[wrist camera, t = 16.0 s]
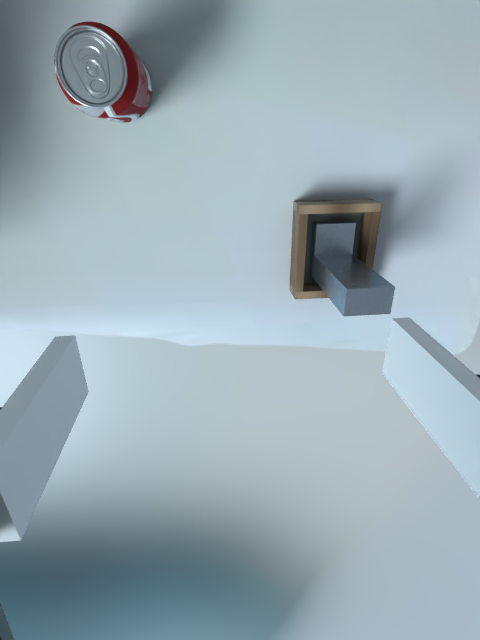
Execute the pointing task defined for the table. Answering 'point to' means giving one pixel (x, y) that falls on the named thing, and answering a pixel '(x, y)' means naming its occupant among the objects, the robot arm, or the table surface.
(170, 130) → the table surface
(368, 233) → the wooden frame
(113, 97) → the soda can
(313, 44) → the table surface
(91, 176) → the table surface
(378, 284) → the bracket
